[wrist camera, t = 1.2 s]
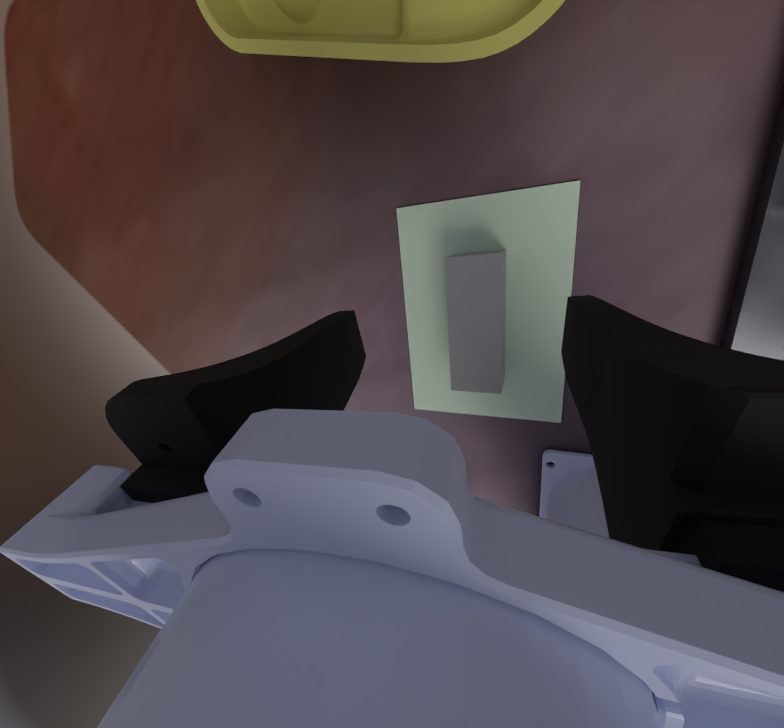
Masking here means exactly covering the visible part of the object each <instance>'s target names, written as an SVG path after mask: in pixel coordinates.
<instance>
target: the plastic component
mask: <svg viewBox="0 0 784 728" xmlns="http://www.w3.org/2000/svg"><path fill="white" fill-rule="evenodd" d="M564 1H565V0H196V2H197V4H198V7H199V9H200V11H201V13H202V14H203V16H204V18H205V20H206V21H207V23H208V25H209V26H210V28H211V29H212V30H213V32H214V33H215V34H216V36H217V37H218V38H219V39H220V40H221V41H222V42H223V43H224V44H225V45H227V46H228V47H229V48H231V49H232V50H235V51H237V52H240V53H252V54H270V55H288V56H306V57H323V58H341V59H359V60H377V61H395V62H427V63H444V62H461V61H467V60H473V59H480V58H484V57H487V56H490V55H493V54H496V53H499V52H502V51H504V50H506V49H508V48H510V47H512V46H514V45H516V44H517V43H519V42H520V41H522V40H523V39H525V38H526V37H528V36H529V35H531V34H532V33H533V32H535V31H536V30H537V29H538V28H539V27H540V26H541V25H542V24H544V23H545V22H546V21H547V20H548V19H549V18H550V17H551V16H552V15H553V14H554V13H555V12H556V11H557V10H558V9H559V8H560V6H561V5H562V4H563V3H564Z"/></svg>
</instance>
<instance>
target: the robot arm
mask: <svg viewBox="0 0 784 728" xmlns="http://www.w3.org/2000/svg"><path fill="white" fill-rule="evenodd" d="M561 355H562V360H563V366H564V371H565V376H566V379H567V382H568V385H569V387H570V390H571V393H572V396H573V398H574V401H575V404H576V406H577V409H578V411H579V414H580V417H581V419H582V422H583V425H584V428H585V430H586V433H587V437H588V440H589V443H590V447H591V452H592V454H584V453H575V452H567V451H559V450H546V451H544V452H543V457H542V475H541V492H540V510H539V516H536V515H533V514H529V513H526V512H523V511H520V510H517V509H513V508H510V507H507V506H504V505H500V504H497V503H494V502H491V501H487V500H484V499H481V498H478V497H475V496H473V495H472V494H471V493H470V491H469V488H468V484H467V475H466V462H465V459H464V456H463V454H462V452H461V450H460V448H459V446H458V444H457V442H456V440H455V438H454V437H453V436H451V435H450V434H448V433H447V432H445V431H444V430H443V429H441V428H440V427H438V426H437V425H435V424H434V423H433V422H431V421H430V420H428V419H424V418H419V417H415V416H411V415H406V414H402V413H397V412H372V411H343V410H344V408H345V406H346V404H347V402H348V400H349V398H350V396H351V394H352V392H353V390H354V388H355V386H356V384H357V382H358V380H359V378H360V375H361V372H362V369H363V365H364V362H365V358H366V355H365V351H364V347H363V343H362V339H361V335H360V331H359V327H358V324H357V320H356V316H355V312H354V310H352V311H339V312H336V313H333V314H331V315H328V316H326V317H324V318H322V319H320V320H318V321H316V322H315V323H313V324H311V325H309V326H307V327H305V328H303V329H301V330H300V331H298V332H296V333H294V334H292V335H290V336H288V337H286V338H284V339H282V340H280V341H278V342H276V343H273V344H271V345H269V346H267V347H264V348H262V349H259V350H257V351H254V352H252V353H249V354H246V355H244V356H240V357H237V358H234V359H231V360H228V361H225V362H222V363H218V364H215V365H211V366H207V367H203V368H199V369H195V370H191V371H186V372H181V373H176V374H171V375H165V376H159V377H153V378H148V379H141V380H138V381H135V382H133V383H131V384H130V385H128V386H127V387H126V388H125V389H123V390H122V391H120V392H119V393H118V394H116V395H115V396H113V397H112V398H111V399H110V400H108V401H107V404H106V406H105V412H106V418H107V420H108V422H109V425H110V426H111V428H112V429H113V430H114V432H115V433H116V434H117V436H118V437H119V438H120V439H121V440H122V441H123V443H124V444H125V445H126V446H127V447H128V448H129V449H130V451H131V452H132V453H133V454H134V455H135V456H136V457H137V459H138V460H139V461H140V462H141V463H143V464H142V465H141V466H140V467H139V468H138V469H137V470H136V471H135V472H134V473H133V472H131V471H129V470H127V469H125V468H120V467H111V466H101V465H96V466H93V467H92V468H91V469H90V470H89V471H87V472H86V473H85V474H84V475H83V476H82V477H80V478H79V479H78V480H77V481H76V482H75V483H74V484H72V485H71V486H70V487H69V488H68V489H67V490H66V491H64V492H63V493H62V494H61V495H60V496H58V497H57V498H56V499H55V500H54V501H53V502H52V503H50V504H49V505H48V506H47V507H46V508H45V509H44V510H42V511H41V512H40V513H39V514H38V515H36V517H34V518H33V519H32V520H31V521H30V522H28V523H27V524H26V525H25V526H24V527H22V528H21V529H20V530H19V531H18V532H17V533H16V534H14V535H13V536H12V537H11V538H10V539H9V540H7V541H6V543H4V544H3V545H2V546H1V547H0V553H2V554H3V555H5V556H7V557H8V558H10V559H11V560H13V561H14V562H16V563H17V564H19V565H21V566H22V567H24V568H25V569H26V570H28V571H30V572H31V573H33V574H34V575H36V576H37V577H39V578H41V579H42V580H43V581H45V582H47V583H48V584H50V585H51V586H53V587H54V588H56V589H57V590H59V591H60V592H62V593H63V594H65V595H67V596H68V597H70V598H71V599H74V600H78V601H81V602H85V603H88V604H92V605H95V606H98V607H101V608H104V609H108V610H110V611H113V612H116V613H119V614H122V615H125V616H128V617H131V618H134V619H136V620H139V621H142V622H145V623H147V624H150V625H153V626H156V627H158V628H161V630H160V632H159V633H158V635H157V636H156V638H155V639H154V641H153V643H152V644H151V646H150V647H149V649H148V650H147V652H146V653H145V655H144V656H143V658H142V659H141V661H140V662H139V664H138V666H137V667H136V669H135V670H134V672H133V673H132V675H131V676H130V678H129V679H128V681H127V683H126V684H125V686H124V687H123V689H122V690H121V692H120V693H119V695H118V696H117V698H116V699H115V701H114V703H113V704H112V706H111V707H110V709H109V710H108V712H107V713H106V715H105V716H104V718H103V719H102V721H101V722H100V724H99V726H98V727H97V728H784V360H779V359H774V358H769V357H764V356H759V355H754V354H750V353H745V352H741V351H737V350H733V349H729V348H724V347H721V346H717V345H713V344H709V343H706V342H703V341H700V340H696V339H693V338H690V337H687V336H684V335H681V334H678V333H675V332H672V331H670V330H667V329H664V328H662V327H659V326H657V325H655V324H652V323H650V322H647V321H645V320H643V319H641V318H638V317H636V316H634V315H632V314H630V313H628V312H626V311H623V310H621V309H619V308H617V307H615V306H613V305H611V304H609V303H607V302H605V301H603V300H601V299H599V298H596V297H594V296H591V295H587V296H571V297H568V298H567V307H566V315H565V323H564V332H563V340H562V349H561ZM548 462H553V463H554V464H553V465H549V464H547V463H548Z"/></svg>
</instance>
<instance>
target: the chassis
mask: <svg viewBox="0 0 784 728" xmlns="http://www.w3.org/2000/svg"><path fill="white" fill-rule="evenodd" d="M721 347H724V348H729V349H733V350H737V351H741V352H745V353H750V354H754V355H759V356H764V357H769V358H774V359H779V360H784V87H783V91H782V95H781V99H780V103H779V107H778V111H777V115H776V120H775V124H774V128H773V132H772V136H771V140H770V144H769V148H768V153H767V157H766V161H765V165H764V169H763V173H762V177H761V181H760V186H759V190H758V194H757V198H756V202H755V206H754V210H753V214H752V219H751V223H750V227H749V231H748V235H747V239H746V243H745V247H744V251H743V256H742V260H741V264H740V268H739V272H738V276H737V280H736V284H735V289H734V293H733V297H732V301H731V305H730V309H729V313H728V317H727V322H726V326H725V330H724V334H723V338H722V342H721Z"/></svg>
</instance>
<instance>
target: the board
mask: <svg viewBox="0 0 784 728" xmlns="http://www.w3.org/2000/svg"><path fill="white" fill-rule="evenodd" d="M579 192H580V180H579V181H572V182H566V183H559V184H553V185H546V186H540V187H533V188H527V189H520V190H513V191H507V192H500V193H494V194H487V195H481V196H474V197H467V198H461V199H454V200H448V201H441V202H435V203H428V204H421V205H415V206H408V207H402V208H396V210H397V221H398V232H399V242H400V253H401V264H402V275H403V286H404V297H405V308H406V319H407V330H408V341H409V352H410V363H411V374H412V385H413V396H414V407H415V409H420V410H431V411H441V412H452V413H462V414H472V415H483V416H493V417H504V418H514V419H524V420H535V421H545V422H556V423H561V418H562V406H563V393H564V380H565V371H564V366H563V360H562V355H561V349H562V340H563V332H564V323H565V315H566V307H567V298H568V297H571V292H572V280H573V267H574V254H575V242H576V229H577V217H578V204H579Z"/></svg>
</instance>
